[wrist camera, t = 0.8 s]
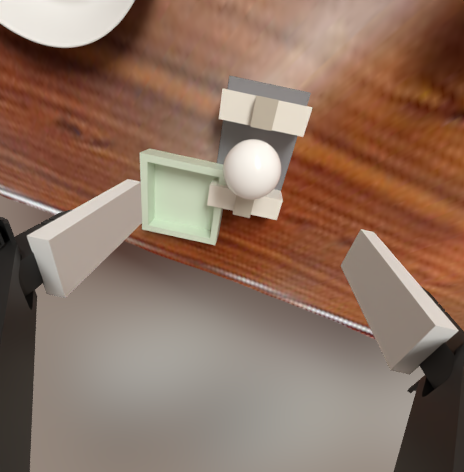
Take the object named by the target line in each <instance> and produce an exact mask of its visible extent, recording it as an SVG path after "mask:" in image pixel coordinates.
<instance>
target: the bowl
mask: <svg viewBox="0 0 464 472" xmlns="http://www.w3.org/2000/svg"><path fill="white" fill-rule="evenodd" d="M134 1H135V0H0V24H1V25H3V26H4V27H6V28H7V29H9V30H10V31H12V32H14V33H16V34H17V35H19V36H21V37H23V38H25V39H28V40H30V41H33V42H35V43H38V44H42V45H46V46H50V47H57V48H73V47H79V46H84V45H87V44H90V43H92V42H95V41H97V40H99V39H100V38H102V37H104V36H105V35H107V34H108V33H109V32H110V31H112V30H113V29H114V28H115V27H116V26H117V25H118V24H119V23H120V22H121V20H122V19H123V18H124V17H125V15H126V14H127V13H128V11H129V10H130V8H131V6H132V5H133V3H134Z"/></svg>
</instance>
